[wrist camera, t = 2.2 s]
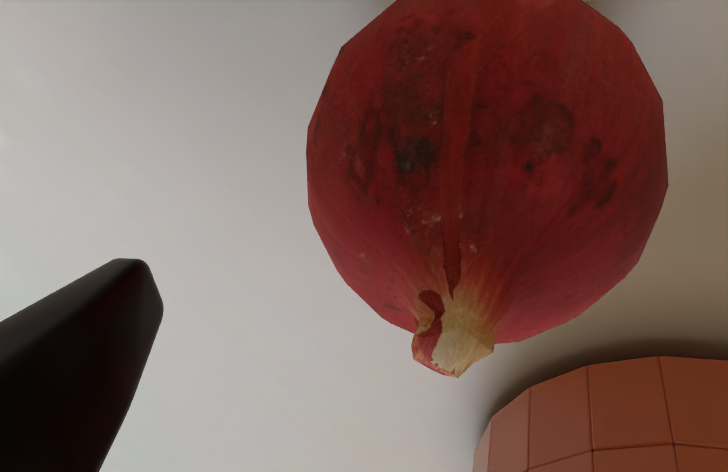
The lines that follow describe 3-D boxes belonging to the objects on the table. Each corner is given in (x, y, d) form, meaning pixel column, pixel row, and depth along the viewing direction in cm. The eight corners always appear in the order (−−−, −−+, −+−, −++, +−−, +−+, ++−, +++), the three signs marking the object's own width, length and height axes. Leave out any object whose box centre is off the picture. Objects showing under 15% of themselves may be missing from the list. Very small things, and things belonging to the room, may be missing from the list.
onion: (322, -27, 14) (131, 179, 7) (622, -119, 11) (711, 59, 5) (403, 205, 17) (316, 491, 10) (653, 166, 14) (731, 494, 8)
